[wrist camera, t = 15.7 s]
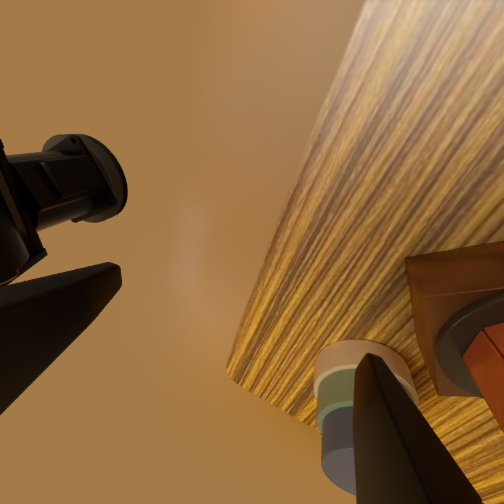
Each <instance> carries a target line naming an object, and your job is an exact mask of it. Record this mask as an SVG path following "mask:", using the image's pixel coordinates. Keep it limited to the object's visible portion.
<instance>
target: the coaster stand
mask: <svg viewBox="0 0 504 504" xmlns="http://www.w3.org/2000/svg"><path fill="white" fill-rule="evenodd" d="M405 264H406V271H407V278H408V284H409V291H410V298H411V305H412V311H413V318H414V325H415V331H416V338H417V344H418V346H419V349H420V351H421V354H422V356H423V359H424V361H425V364H426V366H427V369H428V371H429V374H430V376H431V379H432V381H433V384H434V386H435V389H436V391H437V394H438V396H464V397H480V398H483V399H484V397H483V396H482V394H481V392H480V390H479V388H478V387H477V385H476V383H475V381H474V380H473V378H472V376H471V374H470V373H469V371H468V369H467V367H466V365H465V364H464V362H463V360H462V358H463V357H462V356H463V354H464V353H465V351H466V350H467V349H468V347H469V346H470V344H471V343H472V341H473V340H474V338H475V337H476V336H477V334H478V333H479V331H480V330H482V331H485V330H484V328H485V327H488V326H492V325H495V324H499V323H502V322H504V241H501V242H495V243H490V244H484V245H478V246H472V247H466V248H460V249H454V250H448V251H442V252H436V253H430V254H424V255H418V256H412V257H406V258H405Z"/></svg>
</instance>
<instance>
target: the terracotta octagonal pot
mask: <svg viewBox="0 0 504 504" xmlns="http://www.w3.org/2000/svg"><path fill="white" fill-rule="evenodd" d="M484 330H485V331H482V330H480V331H479V333H478V334H477V336H476V337H475V338H474V340H473V341H472V343H471V344H470V346H469V347H468V349H467V350H466V351H465V353H464V354H463V356H462V357H463V358H462V360H463V362H464V364H465V365H466V367H467V369H468V371H469V373H470V374H471V376H472V378H473V380H474V381H475V383H476V385H477V387H478V388H479V390H480V392H481V394H482V396H483V397H484V399H485V401H486V403H487V404H488V406H489V408H490V410H491V412H492V413H493V415H494V417H495V419H496V420H497V422H498V424H499V426H500V427H501V429H502V431H503V433H504V322H502V323H499V324H495V325H492V326H488V327H485V328H484Z"/></svg>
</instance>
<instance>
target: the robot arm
mask: <svg viewBox="0 0 504 504" xmlns="http://www.w3.org/2000/svg"><path fill="white" fill-rule="evenodd" d="M75 140H76V141H75ZM3 148H4V145H3V143H2V140H1V139H0V415H1V414H2V413H3V412H4V411H5V410H6V409H7V408H8V407H9V406H10V405H11V404H12V403H13V402H14V401H15V400H16V399H17V398H18V397H19V396H20V395H21V394H22V393H23V392H24V391H25V390H26V389H27V388H28V387H29V386H30V385H31V384H32V382H34V381H35V379H37V377H39V375H41V373H43V372H44V371H45V370H46V369H47V368H48V367H49V365H51V363H52V362H53V361H54V360H55V359H56V358H57V357H58V356H59V355H60V354H61V353H62V352H63V351H64V350H65V349H66V348H67V347H68V346H69V345H70V344H71V343H72V342H73V341H74V340H75V339H76V338H77V337H78V336H79V335H80V334H81V333H82V332H83V331H84V330H85V329H86V328H87V327H88V326H89V325H90V324H91V323H92V322H93V321H94V320H95V318H96V317H97V316H98V315H99V314H100V312H101V311H102V310H103V309H104V307H105V306H106V305H107V304H108V303H109V301H110V300H111V299H112V298H113V297H114V295H115V294H116V293H117V292H118V290H119V289H120V288H121V285H122V277H121V269H120V266H118V265H116V264H114V263H111V262H106V263H102V264H97V265H93V266H88V267H84V268H80V269H75V270H71V271H67V272H63V273H58V274H54V275H49V276H45V277H41V278H36V279H32V280H28V281H23V282H19V283H15V284H10V285H8V284H9V283H11V282H12V281H13V280H15V279H16V278H17V277H19V276H20V275H21V274H23V273H24V272H25V271H27V270H28V269H29V268H31V267H32V266H33V265H35V264H36V263H37V262H39V261H40V260H41V259H43V258H44V257H45V256H47V255H48V254H47V251H46V249H45V248H43V245H42V243H41V240H40V238H39V236H38V233H37V232H38V231H41V230H43V229H46V228H48V227H51V226H54V225H57V224H59V223H62V222H65V221H67V220H71V221H72V222H75V223H76V222H79V221H82V220H84V219H87V218H89V217H91V216H94V215H96V214H99V213H101V212H104V211H106V210H109V209H111V208H114V207H116V206H117V205H118V202H117V200H116V198H115V196H114V194H113V193H112V191H111V189H110V187H109V186H108V184H107V182H106V181H105V179H104V177H103V175H102V174H101V172H100V170H99V168H98V167H97V165H96V163H95V161H94V160H93V158H92V156H91V154H90V153H89V151H88V149H87V147H86V146H85V144H84V142H83V140H82V139H81V137H80V136H78V135H70V136H68V137H66V138H65V139H63V140H62V141H60V142H59V143H57V144H56V145H54V146H53V147H51V148H49V149H48V150H46V151H45V152H35V153H27V154H15V155H5V152H4V150H3ZM111 202H112V203H111ZM352 429H353V448H354V466H355V483H356V500H357V504H484V503H482V499H481V497H480V496H479V494H478V493H477V492H476V490H475V489H474V487H473V486H472V485H471V483H470V482H469V480H468V479H467V477H466V476H465V475H464V473H463V472H462V470H461V469H460V467H459V466H458V465H457V463H456V462H455V460H454V459H453V458H452V456H451V455H450V453H449V452H448V450H447V449H446V448H445V446H444V445H443V443H442V442H441V441H440V439H439V438H438V436H437V435H436V433H435V432H434V431H433V429H432V428H431V426H430V425H429V424H428V422H427V421H426V419H425V418H424V416H423V415H422V414H421V412H420V411H419V409H418V408H417V406H416V405H415V404H414V402H413V401H412V399H411V398H410V397H409V395H408V394H407V392H406V391H405V389H404V388H403V387H402V385H401V384H400V382H399V381H398V380H397V378H396V377H395V375H394V374H393V372H392V371H391V370H390V368H389V367H388V365H387V364H386V363H385V361H384V360H383V358H382V357H380V356H378V355H375V354H372V353H366V354H365V355H364V357H363V358H362V360H361V361H360V363H359V364H358V366H357V368H356V370H355V377H354V397H353V417H352Z"/></svg>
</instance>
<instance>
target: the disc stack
mask: <svg viewBox="0 0 504 504" xmlns="http://www.w3.org/2000/svg"><path fill="white" fill-rule="evenodd" d="M366 353H372V354H375V355H378V356H380V357H382V358H383V360H384V361H385V363H386V364H387V365H388V367H389V368H390V370H391V371H392V372H393V374H394V375H395V377H396V378H397V380H398V381H399V382H400V384H401V385H402V387H403V388H404V389H405V391H406V392H407V394H408V395H409V397H410V398H411V399H412V401H413V402H414V404H415V405H416V406H417V408H418V406H419V399H418V396H417V392H416V389H415V386H414V383H413V380H412V377H411V374H410V371H409V368H408V366H407V364H406V362H405V361H404V359H403V358H402V357H401V356H400V355H399V354H398V353H396V352H395V351H394V350H392V349H390V348H389V347H387V346H384V345H382V344H379V343H376V342H373V341H368V340H360V339H349V340H342V341H338V342H335V343H332V344H330V345H328V346H327V347H325V348H324V349H323V350H321V352H320V353H319V354H318V356H317V358H316V361H315V373H314V395H315V397H316V400H317V419H316V422H317V427H318V430H319V432H320V433H321V435H322V457H321V460H322V461H321V465H322V469H323V471H324V473H325V475H326V476H327V477H328V478H329V479H330V480H331V481H332V482H333V483H334V484H336V485H337V486H338V487H340V488H342V489H343V490H345V491H347V492H349V493H351V494H353V495H356V483H355V466H354V448H353V429H352V417H353V397H354V377H355V370H356V368H357V366H358V364H359V363H360V361H361V360H362V358H363V357H364V355H365V354H366Z"/></svg>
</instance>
